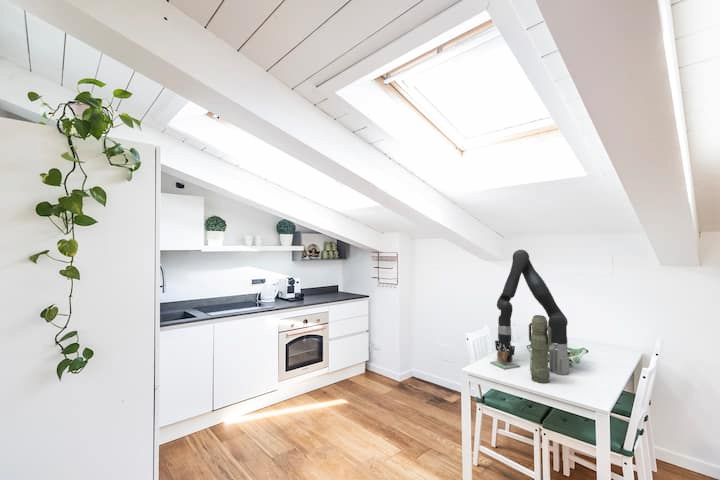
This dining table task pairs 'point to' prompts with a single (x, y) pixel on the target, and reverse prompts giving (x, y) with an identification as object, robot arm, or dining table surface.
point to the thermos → (540, 348)
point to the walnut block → (502, 356)
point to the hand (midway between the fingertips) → (504, 359)
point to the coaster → (505, 365)
